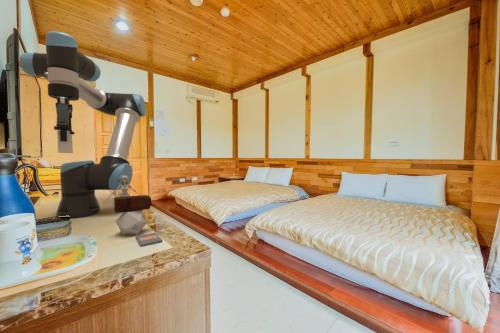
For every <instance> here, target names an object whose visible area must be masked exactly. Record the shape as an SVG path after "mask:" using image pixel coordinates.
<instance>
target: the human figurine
mask: <svg viewBox="0 0 500 333" xmlns="http://www.w3.org/2000/svg"><path fill="white" fill-rule="evenodd" d="M128 182H129V180H128V176H121V185H119V187H118V188H117V190H112V193H111V194H110V195H108V196H107V197H106V200H109V198H110V197H111V196H113V195H115V193H116V192H117V191H118V189H119V190H121V192H122V193H120V194H119V197H122V196H131V195H130V193H128V191H129V189H131V190H132V191H133V192H135V193H136V194H137V195H138V196H139V195H141V194H140V193H139V192H138V191H137V190H136V189H134V188H133V187H132V186H131V185H130V184H128ZM120 188H121V189H120ZM123 213H124V212H121V215H122V214H123Z"/></svg>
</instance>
